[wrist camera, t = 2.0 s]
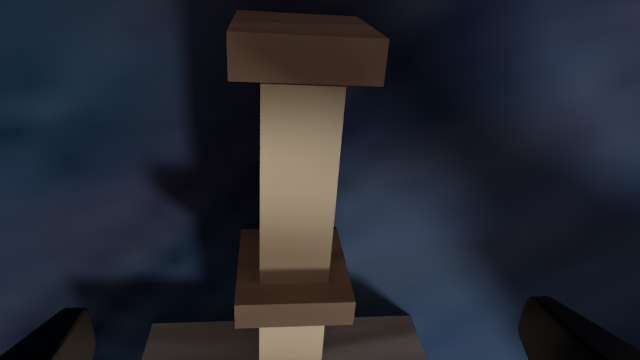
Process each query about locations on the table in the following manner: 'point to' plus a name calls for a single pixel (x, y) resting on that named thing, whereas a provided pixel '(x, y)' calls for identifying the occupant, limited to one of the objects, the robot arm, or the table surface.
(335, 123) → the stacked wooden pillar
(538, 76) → the table surface
